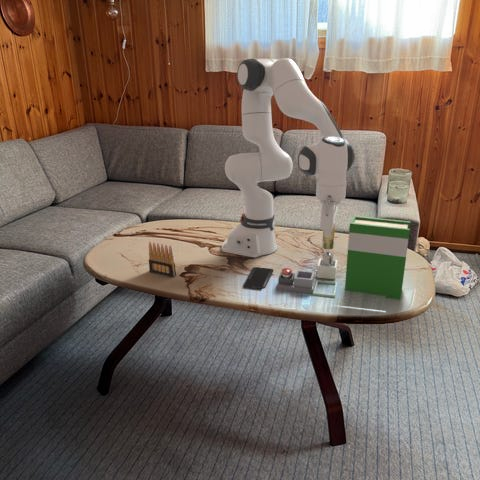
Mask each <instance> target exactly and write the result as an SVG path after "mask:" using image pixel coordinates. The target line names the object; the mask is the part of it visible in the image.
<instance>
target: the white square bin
mask: <svg viewBox="0 0 480 480" xmlns="http://www.w3.org/2000/svg"><path fill="white" fill-rule="evenodd" d="M322 263H323V258H321V257H319V261H318V264H317V271H316V272H317V274H316V279H328V280H336V277H337V272H338V259H333V267H331V266H322Z"/></svg>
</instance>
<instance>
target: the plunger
mask: <svg viewBox="0 0 480 480" xmlns="http://www.w3.org/2000/svg"><path fill="white" fill-rule="evenodd" d="M281 272H282V278H288V279H291V273H293V269H292V268H290V267H284V268H282V269H281Z"/></svg>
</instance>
